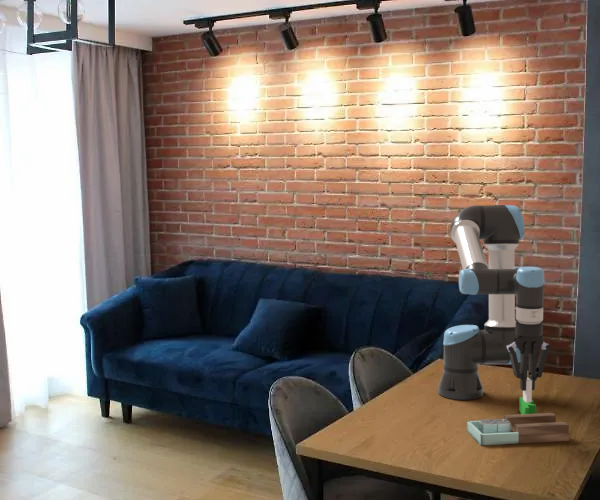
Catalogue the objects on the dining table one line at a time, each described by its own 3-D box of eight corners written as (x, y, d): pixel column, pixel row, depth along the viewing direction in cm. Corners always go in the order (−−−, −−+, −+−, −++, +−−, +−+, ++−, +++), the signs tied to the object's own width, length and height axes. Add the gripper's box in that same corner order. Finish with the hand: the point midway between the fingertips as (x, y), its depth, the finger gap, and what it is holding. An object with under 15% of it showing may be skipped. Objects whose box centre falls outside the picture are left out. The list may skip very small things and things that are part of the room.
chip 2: (492, 432, 227) (492, 419, 226) (506, 432, 227) (506, 418, 227) (497, 437, 223) (497, 423, 222) (511, 436, 223) (511, 423, 223)
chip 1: (478, 433, 227) (479, 419, 226) (492, 432, 227) (492, 419, 227) (483, 437, 223) (483, 424, 222) (497, 437, 223) (497, 423, 223)
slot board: (502, 429, 231) (503, 414, 231) (551, 426, 233) (551, 412, 232) (518, 443, 219) (518, 427, 219) (569, 440, 221) (569, 425, 221)
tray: (466, 431, 230) (466, 421, 230) (502, 429, 231) (502, 419, 231) (480, 445, 218) (480, 434, 218) (518, 443, 219) (518, 433, 219)
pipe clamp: (537, 422, 238) (537, 408, 237) (525, 422, 238) (525, 407, 238) (531, 410, 249) (531, 396, 248) (519, 410, 249) (519, 396, 249)
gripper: (512, 325, 218) (510, 406, 221) (556, 323, 219) (554, 404, 223) (502, 319, 225) (500, 397, 229) (545, 317, 227) (543, 395, 230)
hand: (527, 400), depth 226 cm, fingers closed
